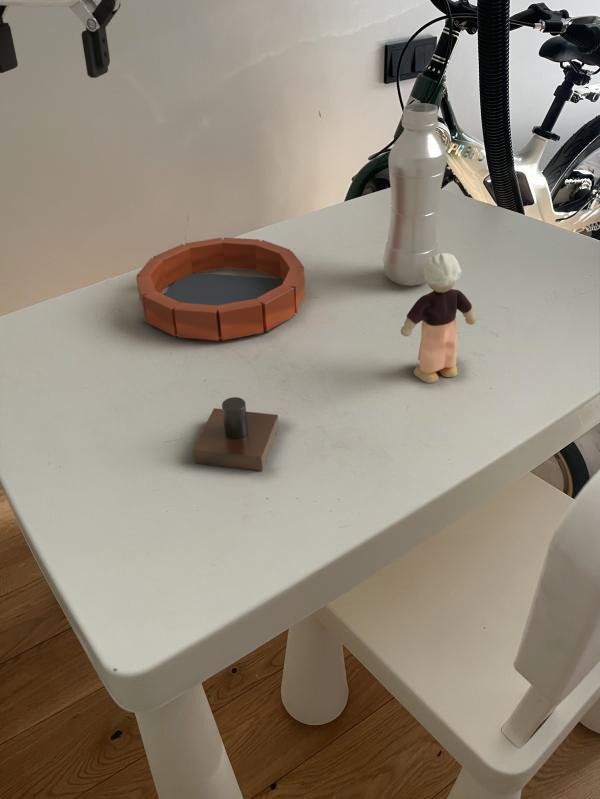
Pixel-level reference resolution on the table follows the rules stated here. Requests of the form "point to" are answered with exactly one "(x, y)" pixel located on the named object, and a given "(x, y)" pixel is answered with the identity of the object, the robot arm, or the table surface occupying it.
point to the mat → (220, 288)
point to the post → (236, 437)
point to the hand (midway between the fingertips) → (52, 72)
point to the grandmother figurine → (438, 318)
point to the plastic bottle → (414, 195)
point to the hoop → (226, 317)
